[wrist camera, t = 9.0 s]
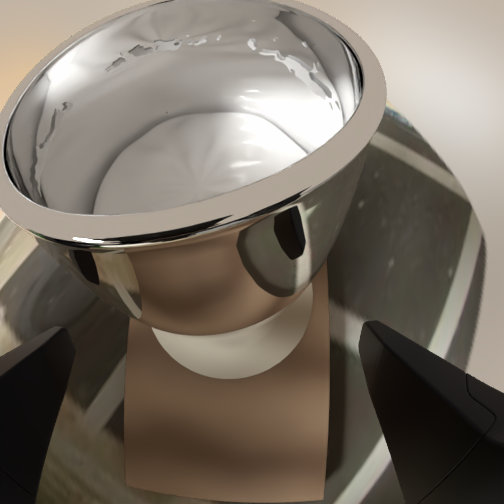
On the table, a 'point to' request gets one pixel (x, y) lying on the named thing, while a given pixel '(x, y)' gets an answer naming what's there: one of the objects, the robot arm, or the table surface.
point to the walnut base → (232, 410)
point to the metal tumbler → (194, 158)
